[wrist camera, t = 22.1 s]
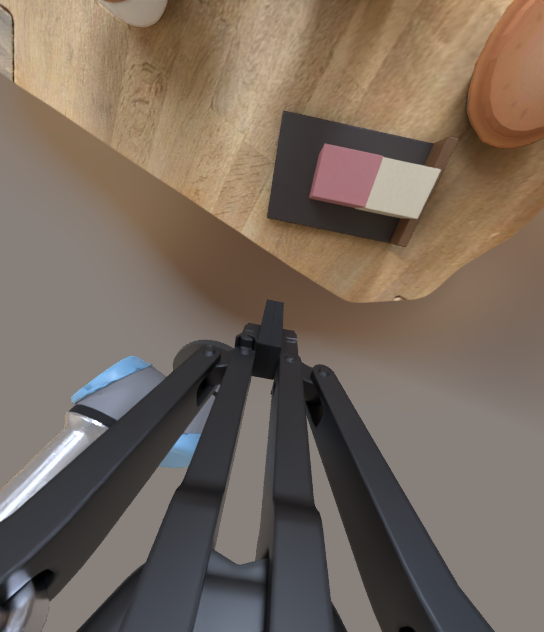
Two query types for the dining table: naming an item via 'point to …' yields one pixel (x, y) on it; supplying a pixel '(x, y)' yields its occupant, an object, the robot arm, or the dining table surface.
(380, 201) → the cream block
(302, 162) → the backrest board
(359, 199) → the pink block
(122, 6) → the trinket box
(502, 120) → the pie
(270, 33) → the dining table surface
